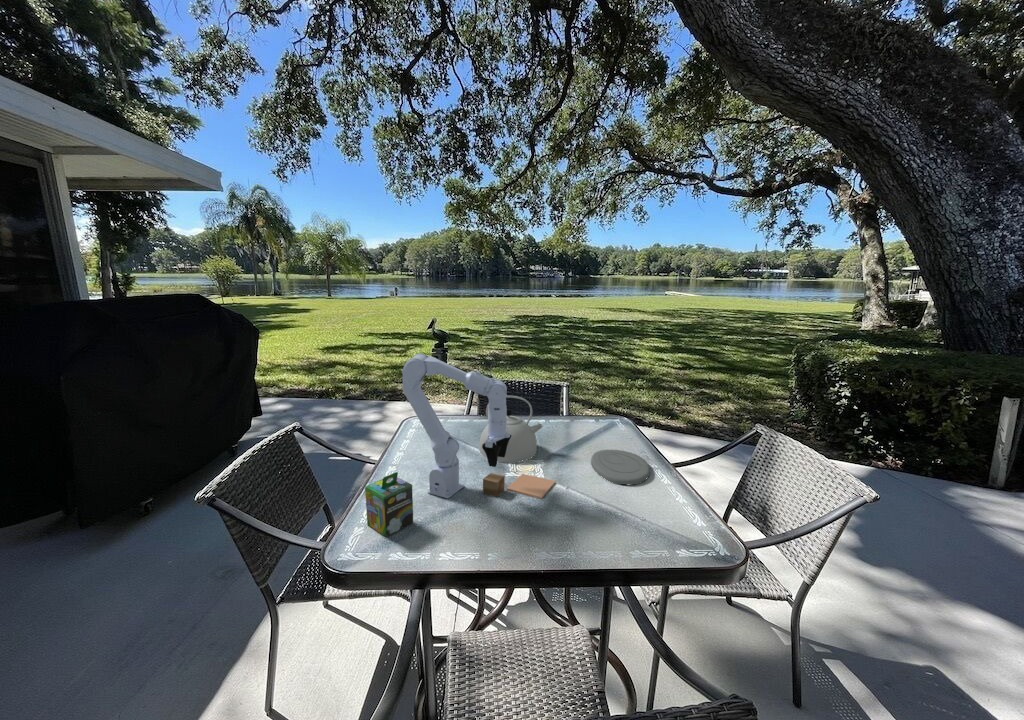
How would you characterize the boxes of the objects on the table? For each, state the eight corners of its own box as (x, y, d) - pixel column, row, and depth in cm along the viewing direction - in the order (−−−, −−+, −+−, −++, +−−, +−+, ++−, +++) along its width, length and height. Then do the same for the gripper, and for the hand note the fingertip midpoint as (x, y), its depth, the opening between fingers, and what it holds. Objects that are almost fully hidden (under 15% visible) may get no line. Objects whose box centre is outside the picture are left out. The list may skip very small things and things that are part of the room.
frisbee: (601, 486, 139) (601, 479, 138) (585, 454, 165) (585, 448, 165) (662, 486, 139) (662, 479, 139) (636, 454, 166) (636, 448, 165)
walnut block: (496, 497, 130) (497, 482, 129) (482, 493, 132) (482, 479, 131) (504, 490, 134) (504, 476, 134) (490, 487, 137) (490, 472, 136)
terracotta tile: (541, 498, 129) (541, 497, 129) (506, 490, 135) (506, 488, 134) (555, 482, 140) (555, 481, 140) (522, 475, 145) (522, 473, 145)
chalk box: (394, 511, 121) (392, 463, 118) (414, 523, 115) (413, 472, 113) (365, 525, 114) (362, 474, 111) (385, 538, 108) (383, 484, 106)
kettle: (541, 441, 178) (542, 389, 174) (544, 463, 155) (545, 404, 151) (481, 440, 178) (481, 387, 174) (476, 462, 156) (476, 403, 152)
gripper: (501, 428, 123) (500, 472, 125) (516, 414, 136) (516, 454, 139) (478, 425, 125) (479, 469, 127) (496, 412, 139) (496, 451, 141)
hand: (497, 461), depth 133 cm, fingers open, 7 cm apart
